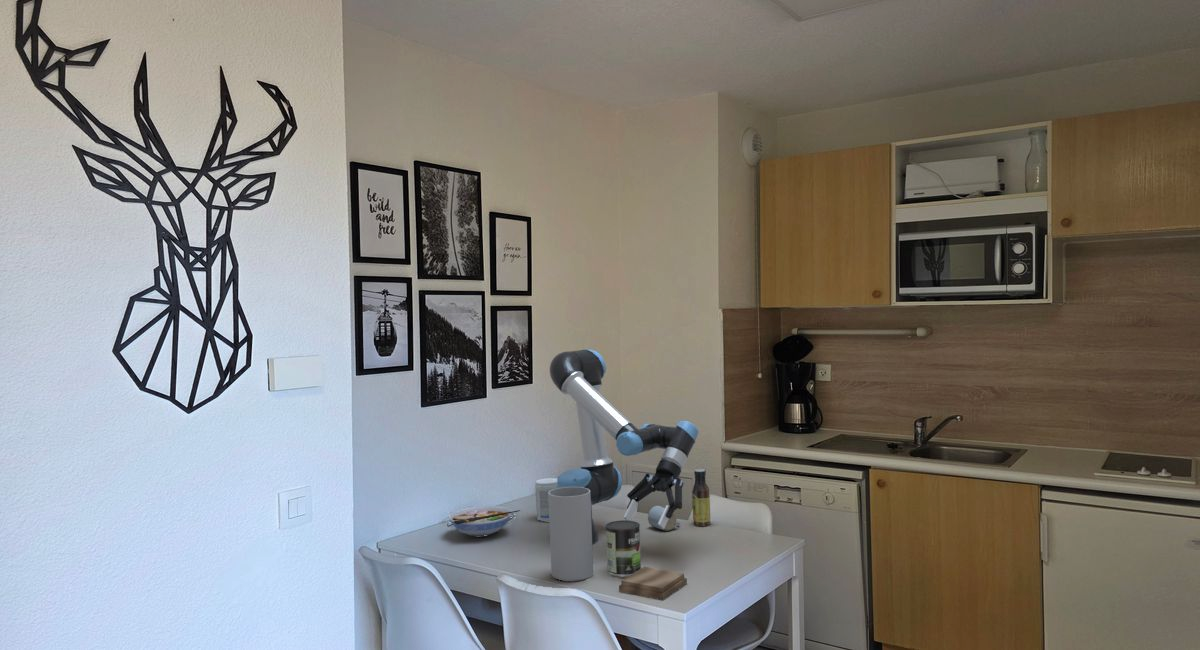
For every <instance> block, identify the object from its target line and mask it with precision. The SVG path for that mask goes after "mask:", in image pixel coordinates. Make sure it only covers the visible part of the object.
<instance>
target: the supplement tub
mask: <svg viewBox="0 0 1200 650" xmlns="http://www.w3.org/2000/svg"><path fill="white" fill-rule="evenodd" d="M534 487H535V488H534V489H535V503H536V504H535V505H536V507H535V509H536V518H537V520H538V521H539V520H541V521H540V522H542V521H549V500H548V492H549V491H551V490H553V489H557V477H556V478H553V477H551V478H550V477H548V478H547V477H545V478H541V479H537V480H535V486H534Z"/></svg>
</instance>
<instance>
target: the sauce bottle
mask: <svg viewBox="0 0 1200 650" xmlns="http://www.w3.org/2000/svg"><path fill="white" fill-rule="evenodd" d="M693 474H694V485H693V487H692V490H691V491H692V492H691V495H692V496H691V499H692V501H691V504H692V520H693V525H695V526H696V527H697V526H698V527H707V526H709V525H710V524H711V500H710V499H711V498H710V497H711V496H710V488H709V486H708V484H707V482H706V474H707V473H706V469H703V468H697V469H695V470H694V473H693Z"/></svg>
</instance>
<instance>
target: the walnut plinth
mask: <svg viewBox="0 0 1200 650" xmlns="http://www.w3.org/2000/svg"><path fill="white" fill-rule="evenodd" d="M687 579H688V578H687V577H685V573H683V572H682V573H681V572H677V571H671V570H666V569H660V568H655V567H654V568H653V567H648V566H643V567H641V569H640V570H638V571H636V572H635V573H633V574H631V575H630V576H628V577H623V579H621V581H620V584H619V585H618V592H620V591H622V592H621V593H625V592H626V593H625V594H630V593H631V595H635V594H636V596H640V595H642V596H641V597H645V596H647V597H646V598H650V597H652V598H651V599H655V598H658V599H657V600H660V599H662V600H661V601H664V600H665V599H667V598H668V597H670V596H671V595H673V594H674V593H676V592H678V589H679V588H680V589H682V588H683V587H685V586H686V585H687V584H688V582H687V581H688V580H687ZM685 584H686V585H685ZM682 586H683V587H682ZM680 589H679V590H680ZM675 591H676V592H675ZM673 592H674V593H673ZM672 593H673V594H672ZM669 595H670V596H669ZM666 597H667V598H666ZM663 599H664V600H663Z"/></svg>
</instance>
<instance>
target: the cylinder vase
mask: <svg viewBox="0 0 1200 650" xmlns="http://www.w3.org/2000/svg"><path fill="white" fill-rule="evenodd" d="M548 500H549V522H548V523H549V524H548V525H549V545H550V546H549V547H550V549H549V550H550V571H551V573H550V574H551V576H552V578H554V579H555V578H556V579H555V580H557V579H559V580H558V581H560V580H562V582H579V581H583V580H586V579H588V578H591V576H592V575H593V574H594V557H593V556H594V555H593V554H594V553H593V544H592V524H591V497H590V490H589V489H587V488H583V487H563V488H557V489H553V490H551V491H549V492H548Z"/></svg>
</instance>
